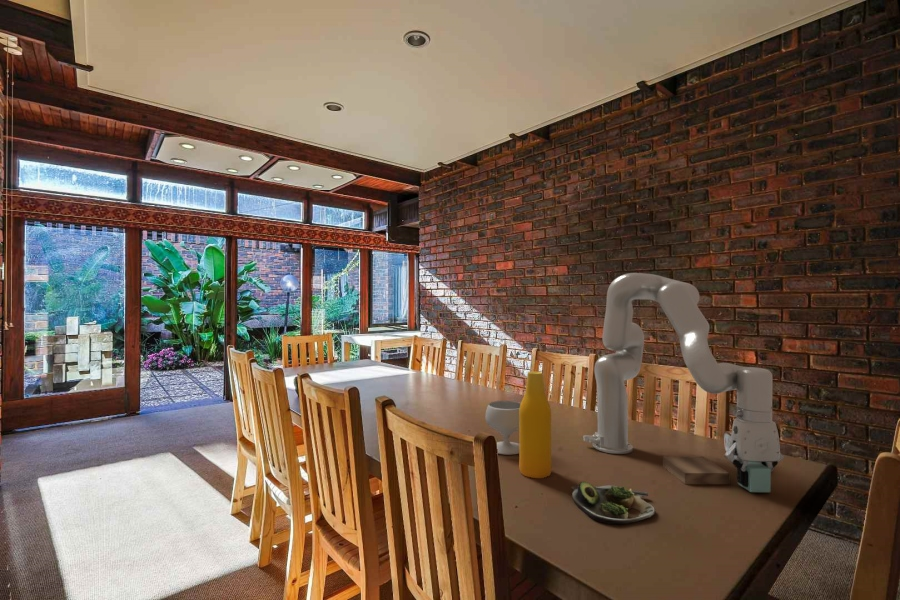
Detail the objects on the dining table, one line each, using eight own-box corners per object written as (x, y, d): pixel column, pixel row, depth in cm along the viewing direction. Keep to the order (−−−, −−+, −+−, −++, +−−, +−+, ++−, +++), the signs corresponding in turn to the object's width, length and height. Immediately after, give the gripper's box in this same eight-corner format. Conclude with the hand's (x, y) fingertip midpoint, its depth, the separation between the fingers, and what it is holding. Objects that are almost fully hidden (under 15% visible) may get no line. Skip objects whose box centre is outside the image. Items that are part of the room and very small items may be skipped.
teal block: (750, 492, 107) (751, 468, 107) (737, 483, 112) (737, 461, 112) (770, 492, 107) (770, 468, 107) (756, 483, 112) (756, 461, 112)
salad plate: (627, 486, 113) (626, 469, 113) (676, 519, 96) (676, 499, 96) (561, 494, 109) (561, 476, 109) (601, 530, 92) (600, 509, 92)
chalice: (536, 451, 139) (536, 405, 139) (504, 460, 131) (504, 412, 131) (507, 439, 151) (507, 397, 151) (477, 447, 143) (476, 403, 143)
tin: (756, 472, 122) (755, 442, 122) (743, 471, 122) (743, 442, 122) (732, 453, 136) (732, 427, 136) (721, 452, 137) (721, 427, 137)
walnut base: (685, 484, 114) (685, 473, 114) (662, 466, 126) (662, 456, 126) (729, 484, 114) (729, 473, 114) (703, 466, 125) (703, 456, 126)
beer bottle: (516, 476, 119) (515, 374, 119) (522, 464, 128) (521, 369, 128) (549, 481, 116) (549, 376, 116) (553, 468, 125) (552, 370, 125)
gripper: (730, 419, 106) (730, 491, 106) (798, 419, 106) (798, 491, 106) (712, 411, 113) (712, 478, 114) (775, 411, 113) (775, 478, 113)
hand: (753, 483), depth 110 cm, fingers closed on teal block, 5 cm apart
